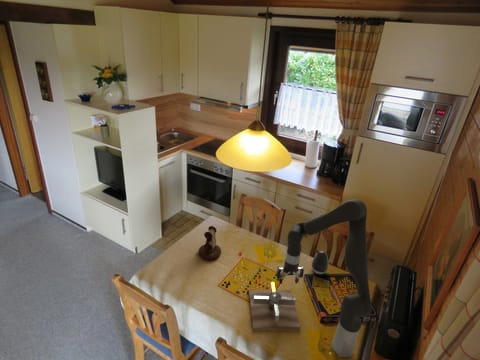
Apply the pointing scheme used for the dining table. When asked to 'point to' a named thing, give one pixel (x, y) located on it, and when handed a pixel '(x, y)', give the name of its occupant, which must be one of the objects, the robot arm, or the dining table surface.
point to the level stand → (265, 316)
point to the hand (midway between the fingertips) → (288, 282)
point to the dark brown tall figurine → (210, 245)
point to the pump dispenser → (320, 262)
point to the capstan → (274, 301)
